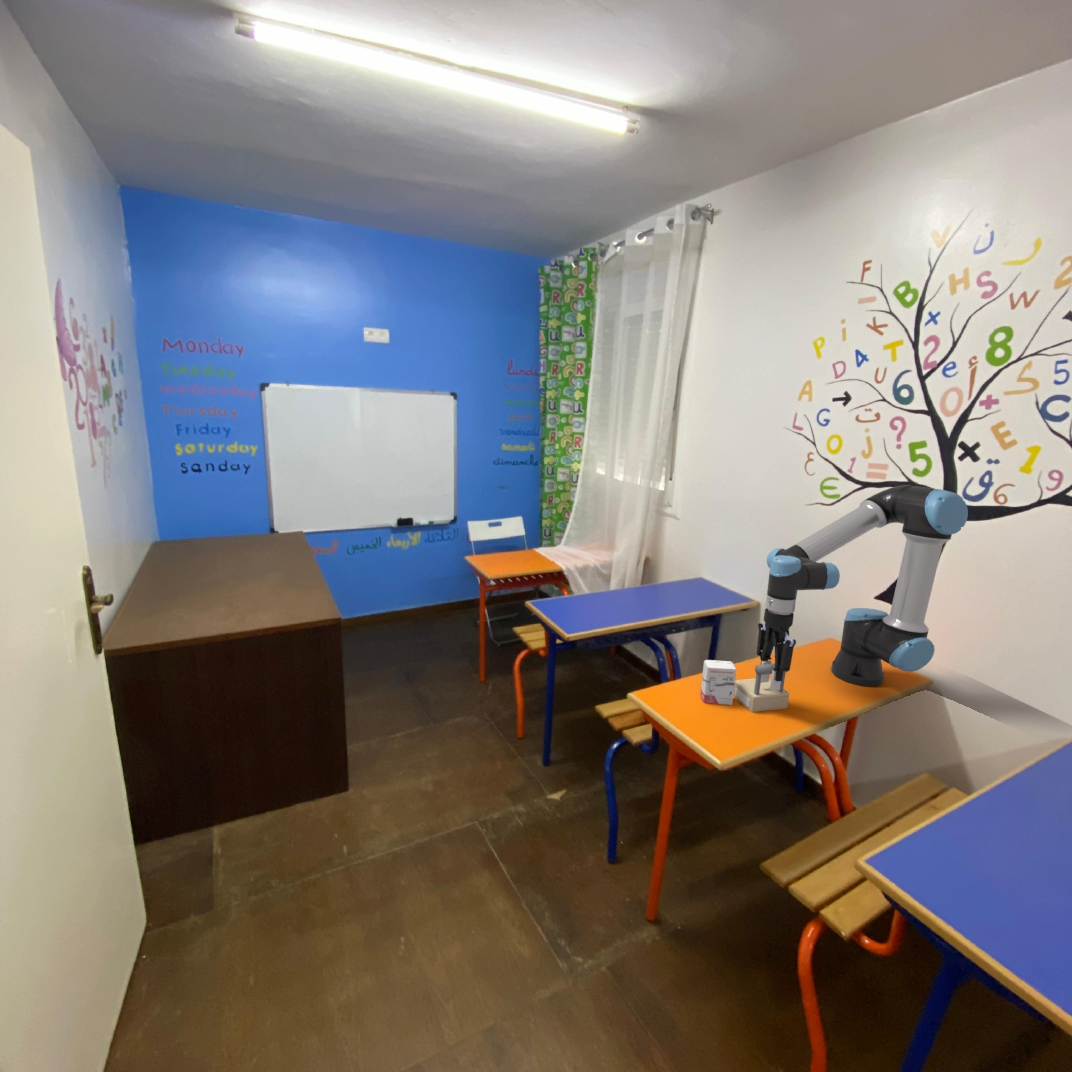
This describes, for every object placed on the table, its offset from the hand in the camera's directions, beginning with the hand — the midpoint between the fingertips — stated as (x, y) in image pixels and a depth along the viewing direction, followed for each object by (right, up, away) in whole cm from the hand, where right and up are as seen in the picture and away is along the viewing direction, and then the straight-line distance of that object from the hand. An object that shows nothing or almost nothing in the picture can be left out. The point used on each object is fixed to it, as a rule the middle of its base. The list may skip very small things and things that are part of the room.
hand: (769, 685), depth 156 cm
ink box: (-14, -6, +5) cm, 16 cm away
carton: (-1, -6, +5) cm, 8 cm away
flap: (-1, -2, +4) cm, 5 cm away
